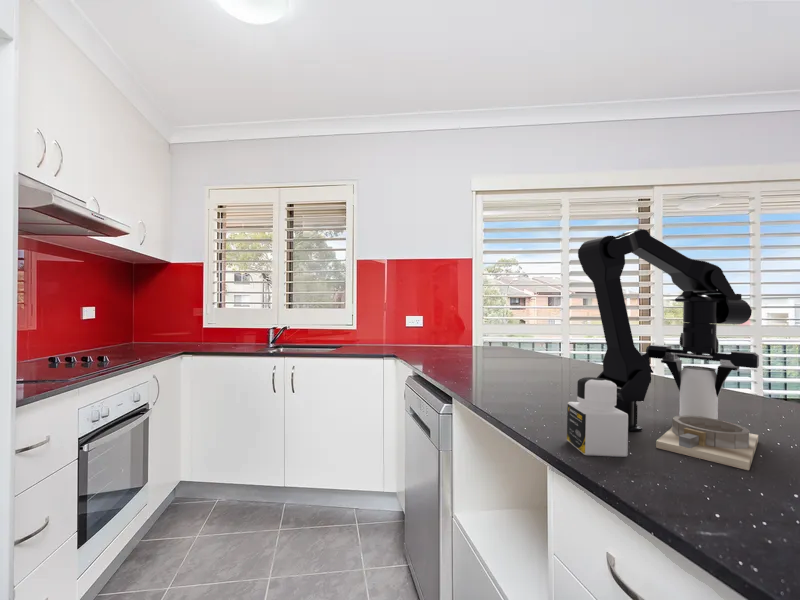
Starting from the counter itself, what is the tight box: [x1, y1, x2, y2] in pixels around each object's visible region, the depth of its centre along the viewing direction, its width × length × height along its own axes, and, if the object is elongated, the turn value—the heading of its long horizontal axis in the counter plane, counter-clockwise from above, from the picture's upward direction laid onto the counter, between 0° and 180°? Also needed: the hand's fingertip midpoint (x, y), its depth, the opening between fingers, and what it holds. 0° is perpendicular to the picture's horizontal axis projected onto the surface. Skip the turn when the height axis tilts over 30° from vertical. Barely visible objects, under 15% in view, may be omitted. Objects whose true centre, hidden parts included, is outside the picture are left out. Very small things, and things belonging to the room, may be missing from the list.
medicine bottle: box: [566, 376, 629, 458], centre depth 65 cm, size 7×7×12 cm
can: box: [679, 365, 719, 420], centre depth 82 cm, size 6×6×12 cm
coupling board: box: [655, 415, 759, 471], centre depth 69 cm, size 20×12×4 cm, turn 133°
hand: (698, 395), depth 82 cm, fingers closed on can, 6 cm apart
